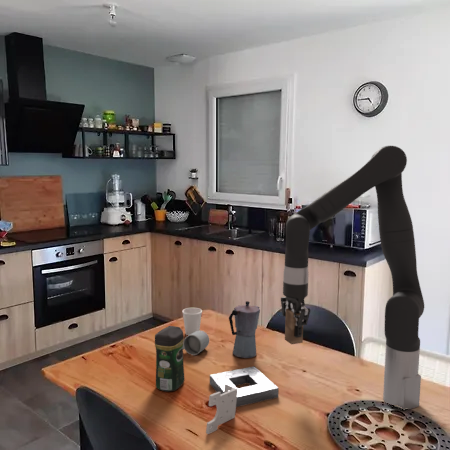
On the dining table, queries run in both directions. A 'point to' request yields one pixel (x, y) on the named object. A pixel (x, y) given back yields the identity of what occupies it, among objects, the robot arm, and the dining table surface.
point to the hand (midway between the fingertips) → (293, 334)
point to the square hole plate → (251, 394)
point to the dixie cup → (192, 320)
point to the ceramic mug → (196, 342)
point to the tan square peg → (291, 328)
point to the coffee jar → (169, 358)
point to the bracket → (222, 407)
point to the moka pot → (245, 330)
